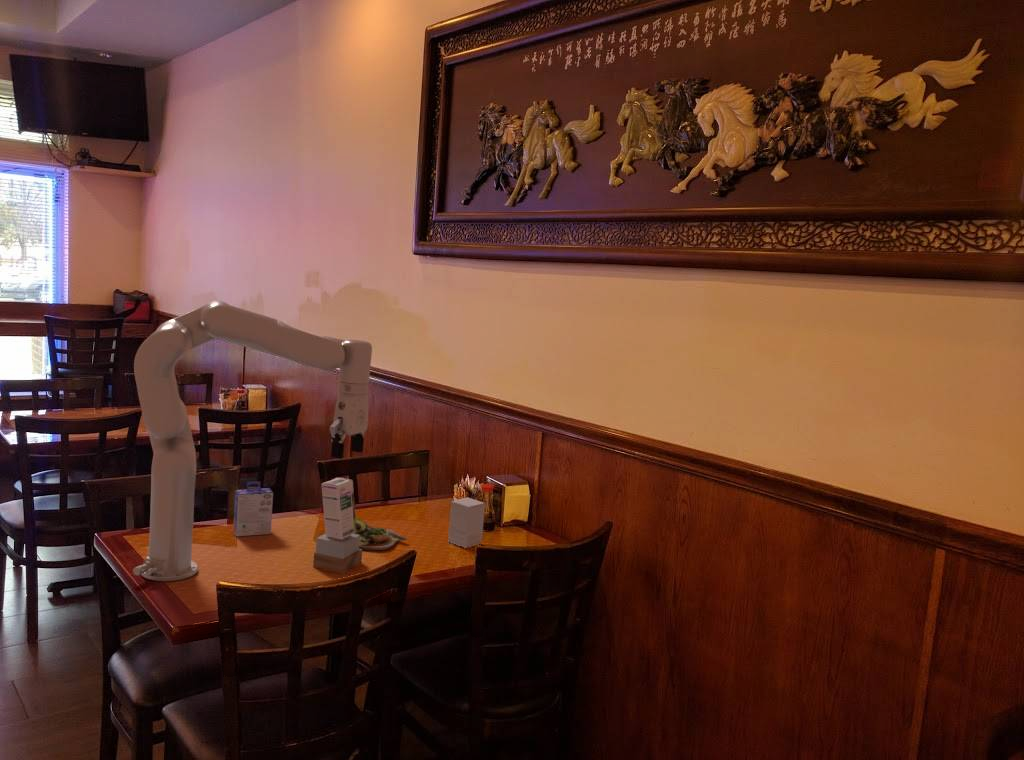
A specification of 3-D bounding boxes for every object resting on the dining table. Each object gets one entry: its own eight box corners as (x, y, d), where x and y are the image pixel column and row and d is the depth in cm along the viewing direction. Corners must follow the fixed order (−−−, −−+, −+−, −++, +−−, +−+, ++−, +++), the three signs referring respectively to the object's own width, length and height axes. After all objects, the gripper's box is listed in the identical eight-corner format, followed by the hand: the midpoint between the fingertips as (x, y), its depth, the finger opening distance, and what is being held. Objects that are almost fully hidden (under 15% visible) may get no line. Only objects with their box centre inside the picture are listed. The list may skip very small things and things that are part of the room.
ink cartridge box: (267, 528, 228) (270, 479, 226) (272, 534, 223) (275, 484, 221) (231, 530, 223) (234, 481, 221) (235, 537, 218) (238, 486, 216)
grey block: (343, 559, 200) (344, 543, 199) (315, 553, 202) (316, 538, 202) (358, 549, 207) (359, 535, 207) (331, 544, 210) (332, 529, 209)
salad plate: (412, 536, 234) (413, 521, 234) (397, 556, 217) (398, 540, 216) (349, 528, 236) (350, 513, 235) (329, 547, 218) (330, 531, 218)
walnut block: (344, 574, 200) (345, 559, 200) (313, 567, 203) (314, 553, 202) (361, 563, 209) (362, 549, 208) (330, 557, 211) (332, 542, 211)
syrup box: (342, 540, 200) (338, 485, 198) (324, 536, 203) (321, 482, 201) (357, 533, 205) (353, 479, 203) (339, 529, 208) (336, 476, 206)
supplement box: (482, 544, 232) (486, 502, 231) (465, 549, 226) (469, 506, 225) (464, 537, 237) (467, 496, 235) (446, 542, 231) (450, 500, 229)
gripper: (348, 394, 191) (342, 463, 193) (382, 388, 207) (376, 451, 209) (321, 389, 193) (315, 457, 195) (357, 384, 210) (351, 447, 212)
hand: (347, 454), depth 202 cm, fingers open, 9 cm apart
